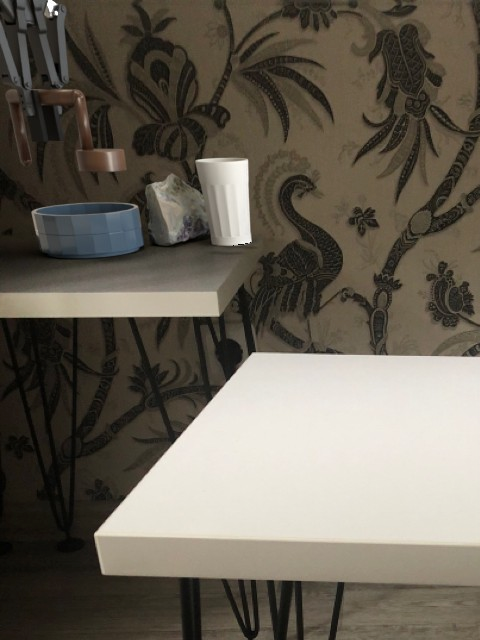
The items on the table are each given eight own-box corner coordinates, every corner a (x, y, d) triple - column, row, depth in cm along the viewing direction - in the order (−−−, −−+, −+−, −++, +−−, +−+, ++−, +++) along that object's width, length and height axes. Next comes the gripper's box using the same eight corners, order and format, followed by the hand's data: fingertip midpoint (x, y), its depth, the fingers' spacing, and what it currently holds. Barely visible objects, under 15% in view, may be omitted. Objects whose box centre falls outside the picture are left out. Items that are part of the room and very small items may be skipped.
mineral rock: (215, 233, 156) (207, 168, 151) (236, 241, 148) (228, 173, 143) (139, 239, 150) (128, 172, 145) (157, 248, 142) (145, 178, 137)
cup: (267, 240, 148) (258, 158, 142) (233, 248, 142) (223, 162, 136) (230, 237, 152) (220, 157, 146) (195, 244, 146) (184, 161, 140)
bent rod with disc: (136, 169, 130) (124, 89, 125) (100, 172, 125) (86, 89, 120) (41, 164, 140) (26, 89, 135) (3, 166, 135) (-13, 89, 130)
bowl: (33, 261, 134) (23, 217, 131) (49, 245, 146) (40, 204, 143) (141, 256, 136) (133, 213, 133) (147, 240, 149) (141, 201, 146)
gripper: (-27, -66, 113) (19, 145, 125) (73, -55, 124) (107, 138, 136) (-63, -62, 117) (-15, 143, 129) (38, -51, 128) (74, 137, 140)
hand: (48, 140), depth 132 cm, fingers closed on bent rod with disc, 2 cm apart
